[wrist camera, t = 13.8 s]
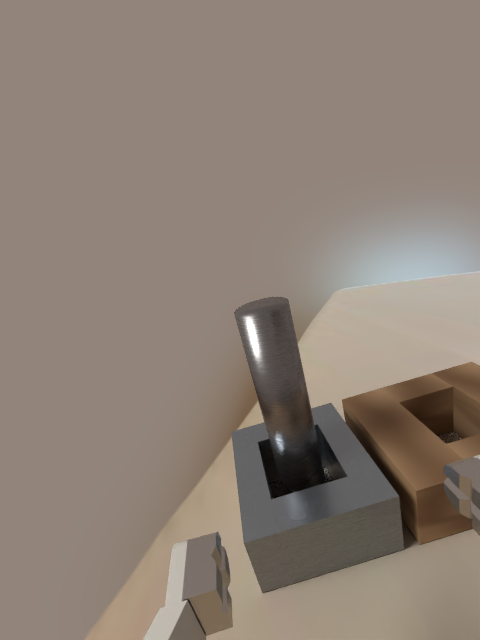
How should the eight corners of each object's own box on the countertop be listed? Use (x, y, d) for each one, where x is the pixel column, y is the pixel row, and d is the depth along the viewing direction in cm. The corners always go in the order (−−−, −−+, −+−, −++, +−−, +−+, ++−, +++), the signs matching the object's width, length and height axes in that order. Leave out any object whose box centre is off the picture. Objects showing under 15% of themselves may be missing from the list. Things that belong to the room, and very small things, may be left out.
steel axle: (320, 479, 22) (280, 293, 17) (338, 517, 19) (295, 305, 14) (283, 490, 22) (232, 307, 17) (294, 530, 19) (237, 322, 14)
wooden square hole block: (471, 403, 26) (471, 361, 24) (602, 488, 17) (615, 430, 16) (348, 440, 25) (341, 399, 24) (419, 544, 17) (416, 491, 15)
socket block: (338, 443, 25) (330, 402, 24) (404, 549, 17) (399, 496, 15) (244, 470, 25) (231, 432, 24) (262, 593, 16) (244, 543, 15)
